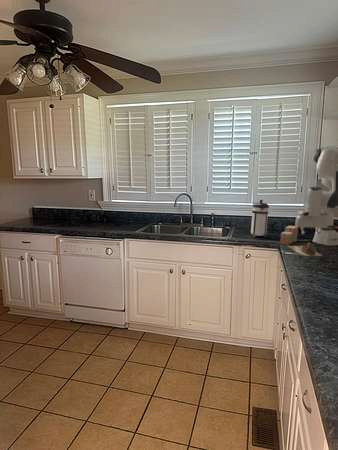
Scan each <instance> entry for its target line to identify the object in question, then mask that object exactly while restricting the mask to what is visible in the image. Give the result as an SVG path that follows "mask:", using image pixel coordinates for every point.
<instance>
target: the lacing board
mask: <svg viewBox="0 0 338 450" xmlns="http://www.w3.org/2000/svg"><path fill="white" fill-rule="evenodd" d="M302 246H303V245H287V248H289V249H290V250H293V251H294V252H295V253H296V254H298V255H299V258H305V259H324V255H323V254H321V253H319V252H317V250H315V254H305V253H303V252H302ZM306 246H307V248H311V246H312V243H311V242H307V245H306Z"/></svg>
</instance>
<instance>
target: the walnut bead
mask: <svg viewBox="0 0 338 450" xmlns="http://www.w3.org/2000/svg"><path fill="white" fill-rule="evenodd" d="M301 246H302V252H303V253H305V254H315V251H317V250H316V247H314V246H312V245H311V248H307V245H301Z"/></svg>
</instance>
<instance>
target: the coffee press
mask: <svg viewBox="0 0 338 450" xmlns="http://www.w3.org/2000/svg"><path fill="white" fill-rule="evenodd" d="M269 208H270V206H269V204H268V203H267V202H263V199H259V202H254V203H253V205H252V210H251V212H252V214H251V226H250V227H251V228H250V232H249V233H250V235H251V237H252V238H255V237H256V236H259V237H263V238H264V237H265V238H267V226H268V216H269ZM265 238H264V239H265Z"/></svg>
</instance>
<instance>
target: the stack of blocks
mask: <svg viewBox="0 0 338 450" xmlns="http://www.w3.org/2000/svg"><path fill="white" fill-rule="evenodd" d="M298 231H299V227H297V226H296V225H291V224H290V225H288V226H286V227H285V229H284V231H282V232H281V233H280V239H279V242H280V244H282V245H286V246H290V245H291V244H292V243H295V242H297V241H298Z"/></svg>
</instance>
